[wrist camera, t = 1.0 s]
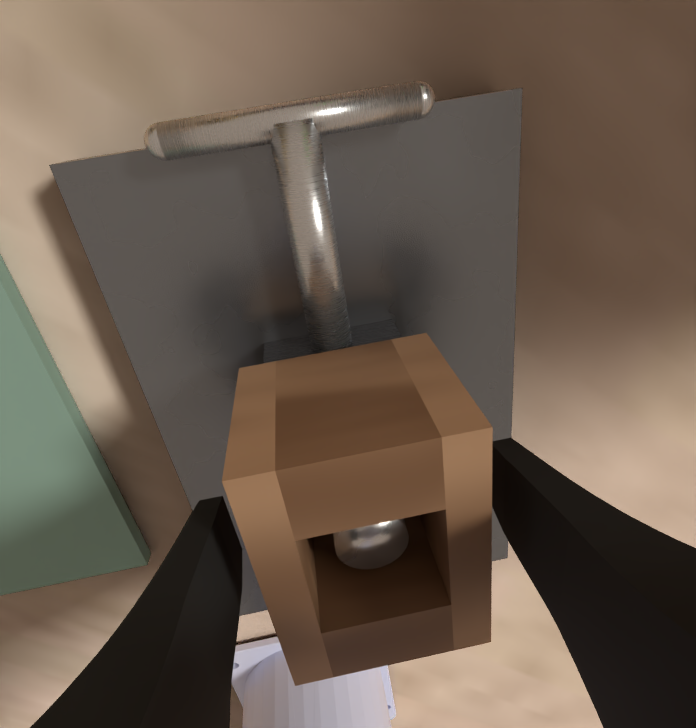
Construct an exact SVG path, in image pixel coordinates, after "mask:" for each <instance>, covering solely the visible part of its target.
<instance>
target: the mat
mask: <svg viewBox="0 0 696 728" xmlns="http://www.w3.org/2000/svg"><path fill="white" fill-rule="evenodd" d="M150 555H151V552H150V550H149V548H148V546H147V544H146V542H145V540H144V538H143V536H142V534H141V532H140V530H139V528H138V526H137V524H136V522H135V520H134V518H133V516H132V514H131V512H130V510H129V509H128V507H127V505H126V503H125V501H124V499H123V497H122V495H121V493H120V491H119V489H118V487H117V485H116V483H115V481H114V479H113V477H112V475H111V473H110V471H109V469H108V467H107V465H106V463H105V461H104V459H103V457H102V455H101V453H100V451H99V449H98V447H97V445H96V443H95V441H94V439H93V437H92V435H91V433H90V431H89V429H88V427H87V425H86V423H85V421H84V419H83V417H82V415H81V413H80V411H79V409H78V407H77V405H76V403H75V401H74V399H73V397H72V395H71V393H70V391H69V389H68V387H67V385H66V383H65V381H64V379H63V378H62V376H61V374H60V372H59V370H58V368H57V366H56V364H55V362H54V360H53V358H52V356H51V354H50V352H49V350H48V348H47V346H46V344H45V342H44V340H43V338H42V336H41V334H40V332H39V330H38V328H37V326H36V324H35V322H34V320H33V318H32V316H31V314H30V312H29V310H28V308H27V306H26V304H25V302H24V300H23V298H22V296H21V294H20V292H19V290H18V288H17V286H16V284H15V282H14V280H13V278H12V276H11V274H10V272H9V270H8V268H7V266H6V264H5V262H4V260H3V258H2V256H1V254H0V596H1V595H6V594H10V593H15V592H20V591H25V590H30V589H34V588H39V587H44V586H49V585H54V584H58V583H63V582H68V581H73V580H78V579H82V578H87V577H92V576H97V575H102V574H106V573H111V572H116V571H121V570H126V569H130V568H135V567H140V566H145V565H148V562H149V558H150Z"/></svg>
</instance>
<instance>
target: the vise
mask: <svg viewBox="0 0 696 728" xmlns="http://www.w3.org/2000/svg"><path fill="white" fill-rule="evenodd" d="M521 116H522V88H518V89H510V90H502V91H495V92H488V93H482V94H476V95H470V96H464V97H458V98H452V99H445V100H439V101H435V94H434V91H433V89H432V88H431V86H430V85H429V84H427V83H426V82H423V81H414V82H408V83H402V84H395V85H389V86H383V87H377V88H370V89H364V90H358V91H352V92H345V93H339V94H333V95H327V96H320V97H314V98H308V99H302V100H295V101H289V102H283V103H277V104H270V105H264V106H258V107H252V108H245V109H239V110H233V111H227V112H220V113H214V114H208V115H202V116H196V117H189V118H183V119H177V120H171V121H164V122H158V123H154V124H152V125H150V126H149V127H148V128H147V130H146V132H145V135H144V142H145V146H146V148H145V149H138V150H132V151H126V152H120V153H114V154H108V155H102V156H95V157H89V158H83V159H77V160H71V161H66V162H61V163H56V164H51V165H49V166H50V168H51V170H52V173H53V175H54V178H55V180H56V183H57V185H58V187H59V190H60V192H61V195H62V197H63V199H64V202H65V204H66V207H67V209H68V211H69V214H70V216H71V219H72V221H73V224H74V226H75V228H76V231H77V233H78V236H79V238H80V240H81V243H82V245H83V248H84V250H85V252H86V255H87V257H88V260H89V262H90V265H91V267H92V269H93V272H94V274H95V277H96V279H97V281H98V284H99V286H100V289H101V291H102V293H103V296H104V298H105V301H106V303H107V305H108V308H109V310H110V313H111V315H112V318H113V320H114V322H115V325H116V327H117V330H118V332H119V334H120V337H121V339H122V342H123V344H124V346H125V349H126V351H127V354H128V356H129V359H130V361H131V363H132V366H133V368H134V371H135V373H136V375H137V378H138V380H139V383H140V385H141V387H142V390H143V392H144V395H145V397H146V400H147V402H148V404H149V407H150V409H151V412H152V414H153V416H154V419H155V421H156V424H157V426H158V428H159V431H160V433H161V436H162V438H163V440H164V443H165V445H166V448H167V450H168V453H169V455H170V457H171V460H172V462H173V465H174V467H175V469H176V472H177V474H178V477H179V479H180V481H181V484H182V486H183V489H184V491H185V494H186V496H187V498H188V501H189V503H190V506H191V508H192V510H194V508H195V506H196V504H197V503H198V502H199V500H204V499H209V498H214V497H219V496H223V498H224V501H225V503H226V506H227V509H228V511H229V514H230V517H231V520H232V522H233V525H234V528H235V531H236V533H237V536H238V539H239V541H240V544H241V547H242V595H241V605H240V613H239V616H241V615H246V614H251V613H255V612H260V611H264V610H268V609H267V606H266V603H265V601H264V598H263V595H262V592H261V589H260V587H259V584H258V581H257V578H256V575H255V573H254V570H253V567H252V564H251V562H250V559H249V556H248V553H247V550H246V548H245V545H244V542H243V539H242V536H241V534H240V531H239V528H238V525H237V523H236V520H235V517H234V514H233V511H232V509H231V506H230V503H229V500H228V497H227V495H226V492H225V489H224V486H223V483H222V477H223V470H224V464H225V457H226V451H227V444H228V437H229V431H230V424H231V418H232V411H233V405H234V398H235V391H236V385H237V378H238V372H239V368H242V367H248V366H253V365H258V364H264V363H269V362H274V361H280V360H285V359H290V358H295V357H301V356H306V355H311V354H317V353H322V352H327V351H333V350H338V349H343V348H348V347H354V346H359V345H364V344H370V343H375V342H380V341H386V340H391V339H396V338H401V337H407V336H412V335H417V334H423V333H427V334H428V336H429V337H430V338H431V340H432V341H433V343H434V344H435V346H436V347H437V348H438V350H439V351H440V353H441V354H442V356H443V357H444V358H445V360H446V361H447V363H448V364H449V366H450V367H451V368H452V370H453V371H454V373H455V374H456V376H457V377H458V378H459V380H460V381H461V383H462V384H463V386H464V387H465V388H466V390H467V391H468V393H469V394H470V396H471V397H472V398H473V400H474V401H475V403H476V404H477V406H478V407H479V408H480V410H481V411H482V413H483V414H484V416H485V417H486V418H487V420H488V421H489V423H490V424H491V426H492V427H493V441H496V440H501V439H506V438H511V431H512V400H513V368H514V337H515V305H516V274H517V242H518V211H519V179H520V148H521ZM333 536H334V544H335V551H336V554H337V556H338V558H339V559H340V560H341V561H342V562H343V563H344V564H346V565H348V566H350V567H353V568H357V569H375V568H379V567H382V566H385V565H387V564H390V563H391V562H393V561H395V560H396V559H397V558H398V557H400V556H401V555H402V553H403V552H404V551H405V549H406V547H407V545H408V541H409V535H408V531H407V528H406V525H405V521H404V518H403V519H398V520H393V521H388V522H384V523H379V524H374V525H369V526H364V527H360V528H355V529H350V530H345V531H340V532H336V533H333ZM507 557H508V539H507V538H506V536H505V534H504V532H503V530H502V528H501V526H500V523H499V521H498V519H497V517H496V514H495V512H494V510H493V507H492V561H496V560H500V559H505V558H507Z"/></svg>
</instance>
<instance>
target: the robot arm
mask: <svg viewBox="0 0 696 728" xmlns="http://www.w3.org/2000/svg"><path fill="white" fill-rule="evenodd" d="M492 507H493V510H494V512H495V514H496V517H497V519H498V521H499V523H500V526H501V528H502V530H503V532H504V534H505V536H506V538H507V539H508V541H509V543H510V545H511V546H512V548H513V550H514V551H515V553H516V555H517V557H518V558H519V560H520V562H521V563H522V565H523V567H524V569H525V570H526V572H527V574H528V575H529V577H530V579H531V580H532V582H533V584H534V585H535V587H536V589H537V591H538V592H539V594H540V596H541V597H542V599H543V601H544V602H545V604H546V606H547V608H548V609H549V611H550V613H551V615H552V617H553V619H554V621H555V622H556V624H557V626H558V628H559V630H560V632H561V635H562V637H563V639H564V641H565V643H566V645H567V647H568V649H569V652H570V654H571V656H572V658H573V660H574V662H575V664H576V667H577V669H578V671H579V673H580V675H581V678H582V680H583V682H584V684H585V687H586V689H587V691H588V693H589V695H590V698H591V700H592V702H593V704H594V707H595V709H596V711H597V714H598V716H599V718H600V721H601V723H602V725H603V728H696V548H694V547H692V546H690V545H687V544H685V543H683V542H681V541H678V540H676V539H674V538H672V537H670V536H668V535H666V534H664V533H662V532H660V531H658V530H656V529H654V528H652V527H650V526H648V525H646V524H644V523H642V522H640V521H638V520H636V519H634V518H633V517H631V516H629V515H627V514H625V513H623V512H622V511H620V510H618V509H616V508H615V507H613V506H611V505H610V504H608V503H606V502H605V501H603V500H601V499H600V498H598V497H596V496H595V495H593V494H592V493H590V492H588V491H587V490H585V489H584V488H582V487H581V486H579V485H578V484H576V483H575V482H573V481H572V480H570V479H569V478H567V477H566V476H564V475H563V474H561V473H560V472H558V471H557V470H555V469H554V468H553V467H551V466H550V465H548V464H547V463H545V462H544V461H543V460H541V459H540V458H538V457H537V456H536V455H534V454H533V453H532V452H530V451H529V450H527V449H526V448H525V447H523V446H522V445H520V444H519V443H518V442H516V441H515V440H513V439H512V438H506V439H501V440H496V441H493V444H492ZM241 595H242V547H241V544H240V541H239V539H238V536H237V533H236V531H235V528H234V525H233V522H232V520H231V517H230V514H229V511H228V509H227V506H226V503H225V501H224V498H223V496H219V497H214V498H209V499H204V500H199V502H198V503H197V504H196V506H195V508H194V510H193V511H192V513H191V515H190V517H189V519H188V520H187V522H186V524H185V526H184V527H183V529H182V531H181V533H180V534H179V536H178V538H177V540H176V541H175V543H174V545H173V546H172V548H171V550H170V551H169V553H168V554H167V556H166V558H165V559H164V561H163V563H162V564H161V566H160V567H159V569H158V571H157V572H156V574H155V575H154V577H153V579H152V580H151V581H150V583H149V584H148V586H147V587H146V589H145V590H144V592H143V593H142V595H141V596H140V598H139V599H138V601H137V602H136V604H135V605H134V607H133V608H132V609H131V611H130V612H129V613H128V615H127V616H126V618H125V619H124V620H123V622H122V623H121V624H120V626H119V627H118V628H117V630H116V631H115V632H114V634H113V635H112V636H111V637H110V639H109V640H108V641H107V642H106V644H105V645H104V646H103V648H102V649H101V650H100V651H99V652H98V654H97V655H96V656H95V657H94V658H93V660H92V661H91V662H90V663H89V664H88V665H87V667H86V668H85V669H84V670H83V671H82V672H81V673H80V675H79V676H78V677H77V678H76V679H75V680H74V681H73V682H72V684H71V685H70V686H69V687H68V688H67V689H66V690H65V692H64V693H63V694H62V695H61V696H60V697H59V698H58V699H57V700H56V701H55V702H54V703H53V705H52V706H51V707H50V708H49V709H48V710H47V711H46V712H45V713H44V714H43V715H42V716H41V717H40V718H39V719H38V720H37V721H36V722H35V723H34V724H33V725H32V726H31V727H30V728H229V727H230V696H231V684H232V686H233V688H234V690H235V692H236V694H237V696H238V698H239V701H240V703H241V705H242V707H243V723H242V728H392V727H391V722H390V720H392V719H393V718H394V717H395V716H396V710H395V704H394V699H393V693H392V688H391V682H390V677H389V671H388V665H386V666H382V667H377V668H373V669H369V670H364V671H360V672H355V673H351V674H346V675H342V676H338V677H333V678H329V679H324V680H320V681H315V682H311V683H306V684H302V685H298V686H295V684H294V681H293V679H292V676H291V673H290V670H289V667H288V665H287V662H286V659H285V656H284V653H283V651H282V648H281V645H280V642H279V640H278V637H272V638H267V639H263V640H258V641H254V642H249V643H245V644H240V645H236V639H237V631H238V622H239V613H240V605H241Z"/></svg>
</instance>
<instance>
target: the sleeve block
mask: <svg viewBox="0 0 696 728" xmlns="http://www.w3.org/2000/svg"><path fill="white" fill-rule="evenodd" d="M492 444H493V427H492V426H491V424H490V423H489V421H488V420H487V418H486V417H485V416H484V414H483V413H482V411H481V410H480V408H479V407H478V406H477V404H476V403H475V401H474V400H473V398H472V397H471V396H470V394H469V393H468V391H467V390H466V388H465V387H464V386H463V384H462V383H461V381H460V380H459V378H458V377H457V376H456V374H455V373H454V371H453V370H452V368H451V367H450V366H449V364H448V363H447V361H446V360H445V358H444V357H443V356H442V354H441V353H440V351H439V350H438V348H437V347H436V346H435V344H434V343H433V341H432V340H431V338H430V337H429V336H428V334H427V333H423V334H417V335H412V336H407V337H401V338H396V339H391V340H386V341H380V342H375V343H370V344H364V345H359V346H354V347H348V348H343V349H338V350H333V351H327V352H322V353H317V354H311V355H306V356H301V357H295V358H290V359H285V360H280V361H274V362H269V363H264V364H258V365H253V366H248V367H242V368H239V372H238V378H237V385H236V391H235V398H234V405H233V411H232V418H231V424H230V431H229V437H228V444H227V451H226V457H225V464H224V470H223V477H222V483H223V486H224V489H225V492H226V495H227V497H228V500H229V503H230V506H231V509H232V511H233V514H234V517H235V520H236V523H237V525H238V528H239V531H240V534H241V536H242V539H243V542H244V545H245V548H246V550H247V553H248V556H249V559H250V562H251V564H252V567H253V570H254V573H255V575H256V578H257V581H258V584H259V587H260V589H261V592H262V595H263V598H264V601H265V603H266V606H267V609H268V612H269V614H270V617H271V620H272V623H273V626H274V628H275V631H276V634H277V637H278V640H279V642H280V645H281V648H282V651H283V653H284V656H285V659H286V662H287V665H288V667H289V670H290V673H291V676H292V679H293V681H294V684H295V686H298V685H302V684H306V683H311V682H315V681H320V680H324V679H329V678H333V677H338V676H342V675H346V674H351V673H355V672H360V671H364V670H369V669H373V668H377V667H382V666H386V665H391V664H395V663H400V662H404V661H409V660H413V659H417V658H422V657H426V656H431V655H435V654H440V653H444V652H449V651H453V650H457V649H462V648H466V647H471V646H475V645H480V644H484V643H488V642H491V572H492ZM403 518H404V521H405V525H406V528H407V531H408V535H409V541H408V545H407V547H406V549H405V551H404V552H403V553H402V555H401V556H400V557H398V558H397V559H396V560H395V561H393V562H391V563H390V564H387V565H385V566H382V567H379V568H375V569H357V568H353V567H350V566H348V565H346V564H344V563H343V562H342V561H341V560H340V559H339V558H338V556H337V554H336V551H335V544H334V536H333V533H336V532H340V531H345V530H350V529H355V528H360V527H364V526H369V525H374V524H379V523H384V522H388V521H393V520H398V519H403Z"/></svg>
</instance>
